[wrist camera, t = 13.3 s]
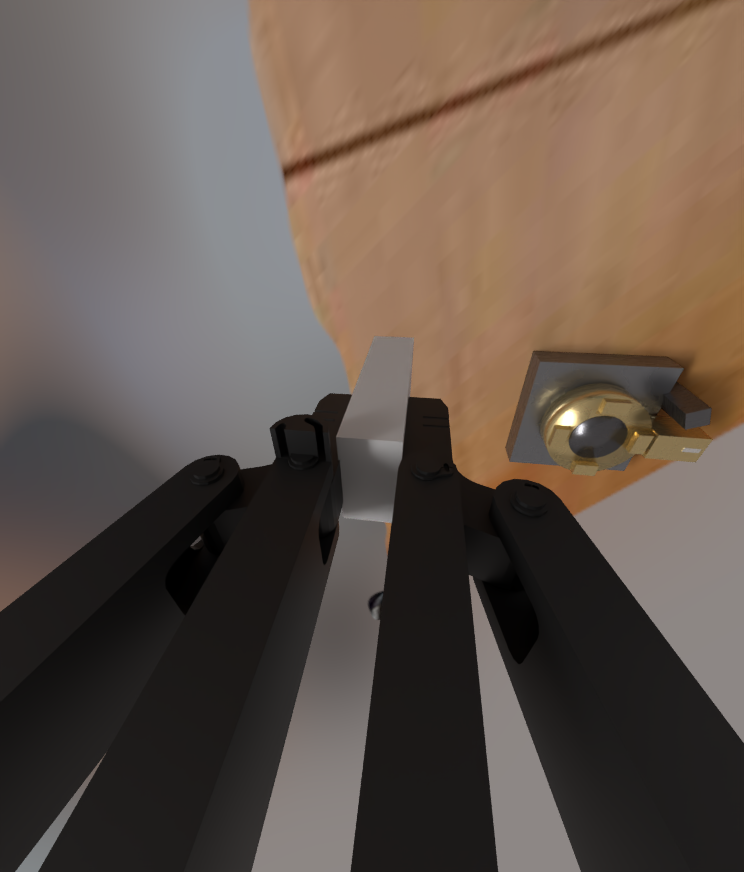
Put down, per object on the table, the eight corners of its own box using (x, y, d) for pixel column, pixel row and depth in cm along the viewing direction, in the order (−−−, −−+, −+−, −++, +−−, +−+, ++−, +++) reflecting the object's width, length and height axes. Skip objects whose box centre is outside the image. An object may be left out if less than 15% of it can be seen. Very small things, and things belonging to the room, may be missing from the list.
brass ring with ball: (529, 451, 42) (538, 473, 39) (555, 380, 36) (567, 398, 33) (658, 462, 41) (678, 486, 37) (707, 389, 35) (735, 410, 31)
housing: (533, 351, 38) (551, 378, 32) (688, 357, 36) (735, 387, 31) (505, 447, 46) (515, 482, 41) (630, 457, 44) (659, 495, 39)
